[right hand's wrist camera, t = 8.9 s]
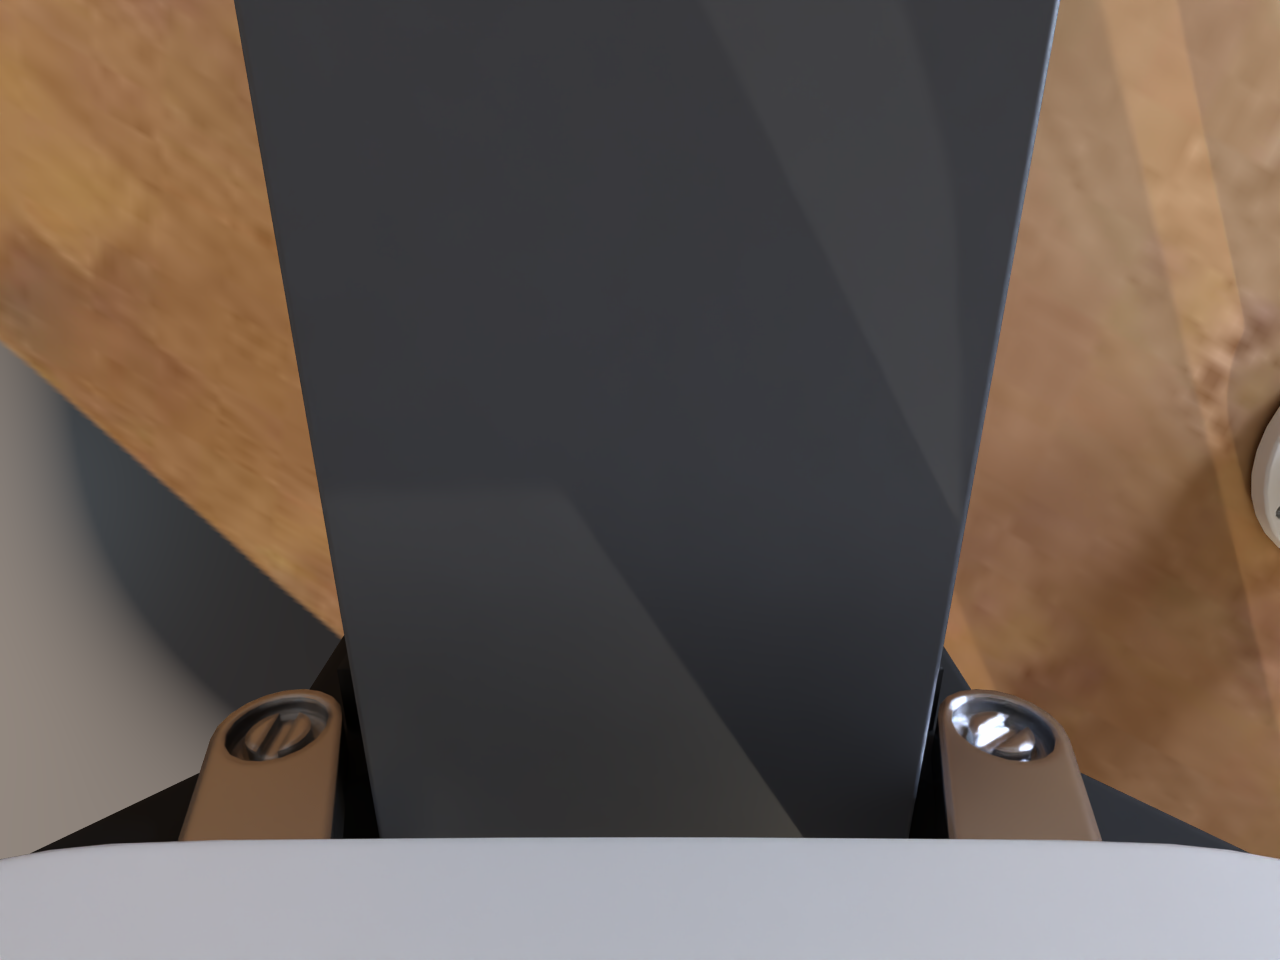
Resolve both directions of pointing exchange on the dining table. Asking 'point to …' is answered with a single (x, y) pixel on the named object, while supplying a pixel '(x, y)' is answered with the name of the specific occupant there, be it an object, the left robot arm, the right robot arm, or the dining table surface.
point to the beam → (645, 388)
